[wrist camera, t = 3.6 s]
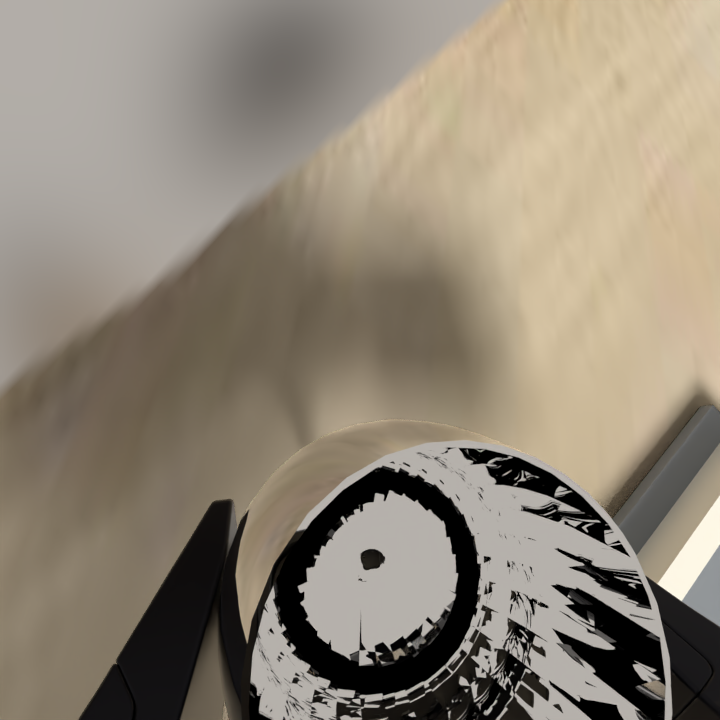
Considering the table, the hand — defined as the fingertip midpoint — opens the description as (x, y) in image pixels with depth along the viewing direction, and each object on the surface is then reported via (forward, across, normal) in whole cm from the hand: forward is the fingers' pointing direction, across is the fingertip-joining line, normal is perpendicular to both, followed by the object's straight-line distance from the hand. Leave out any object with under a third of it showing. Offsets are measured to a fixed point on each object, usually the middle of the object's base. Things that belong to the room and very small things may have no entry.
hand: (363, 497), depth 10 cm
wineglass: (+4, 0, +6) cm, 7 cm away
